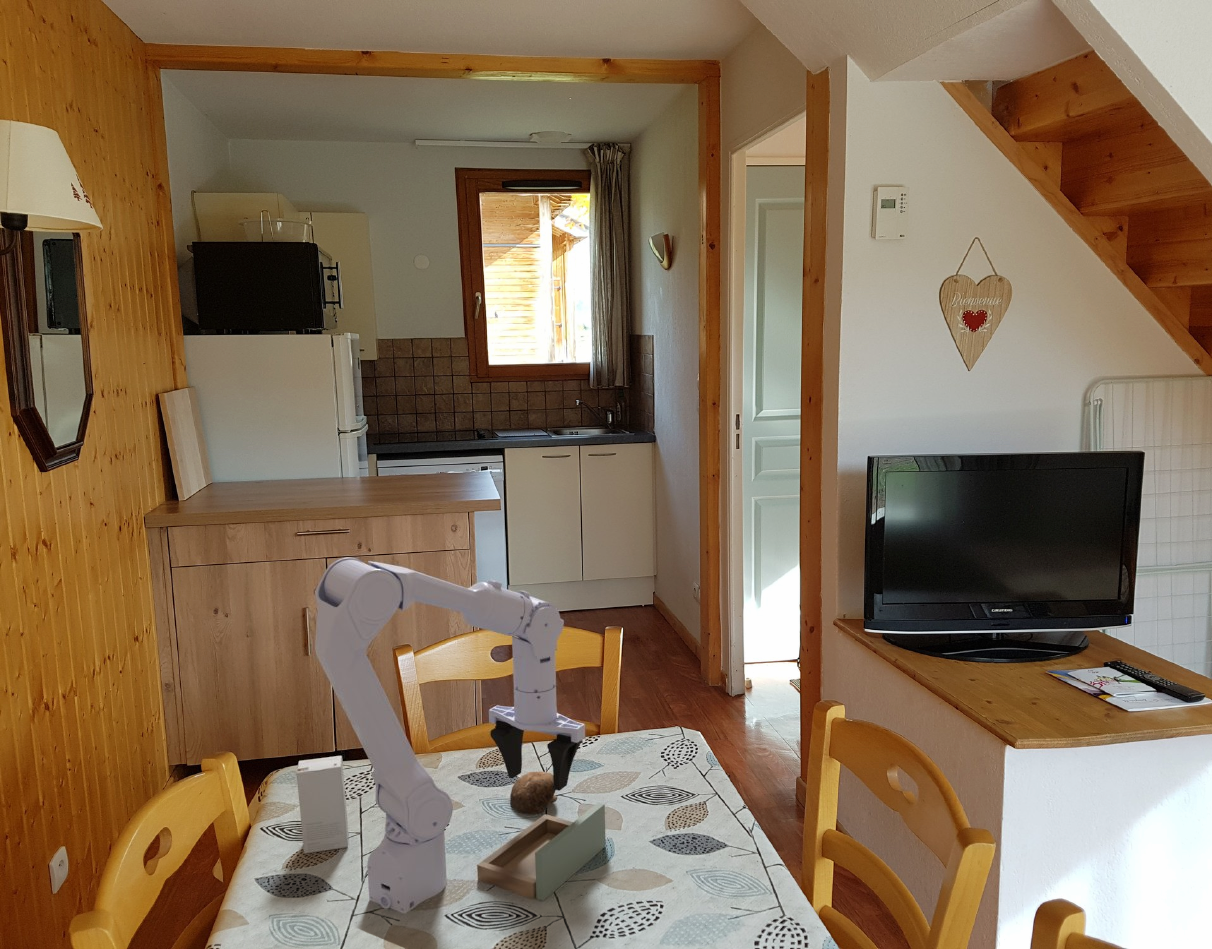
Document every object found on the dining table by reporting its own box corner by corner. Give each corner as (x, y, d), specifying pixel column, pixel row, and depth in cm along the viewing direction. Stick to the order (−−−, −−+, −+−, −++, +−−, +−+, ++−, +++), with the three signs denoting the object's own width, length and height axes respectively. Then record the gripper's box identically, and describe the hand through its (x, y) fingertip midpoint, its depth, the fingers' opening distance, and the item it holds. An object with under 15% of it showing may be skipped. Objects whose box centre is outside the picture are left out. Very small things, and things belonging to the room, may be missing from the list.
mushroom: (572, 779, 144) (548, 753, 141) (566, 822, 137) (541, 795, 134) (530, 796, 146) (506, 771, 144) (522, 839, 139) (497, 814, 137)
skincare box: (349, 833, 135) (344, 753, 134) (348, 849, 131) (343, 766, 129) (304, 840, 134) (298, 758, 132) (301, 856, 129) (296, 772, 128)
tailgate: (536, 898, 115) (534, 852, 115) (599, 844, 128) (598, 802, 127) (543, 901, 115) (541, 854, 114) (605, 846, 127) (604, 804, 126)
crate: (478, 890, 120) (477, 865, 120) (545, 837, 133) (545, 814, 132) (534, 910, 116) (533, 883, 115) (598, 853, 128) (597, 829, 128)
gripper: (596, 685, 127) (598, 780, 129) (508, 668, 135) (511, 759, 136) (567, 702, 121) (570, 802, 123) (478, 683, 128) (481, 778, 130)
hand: (537, 781), depth 129 cm, fingers open, 7 cm apart
